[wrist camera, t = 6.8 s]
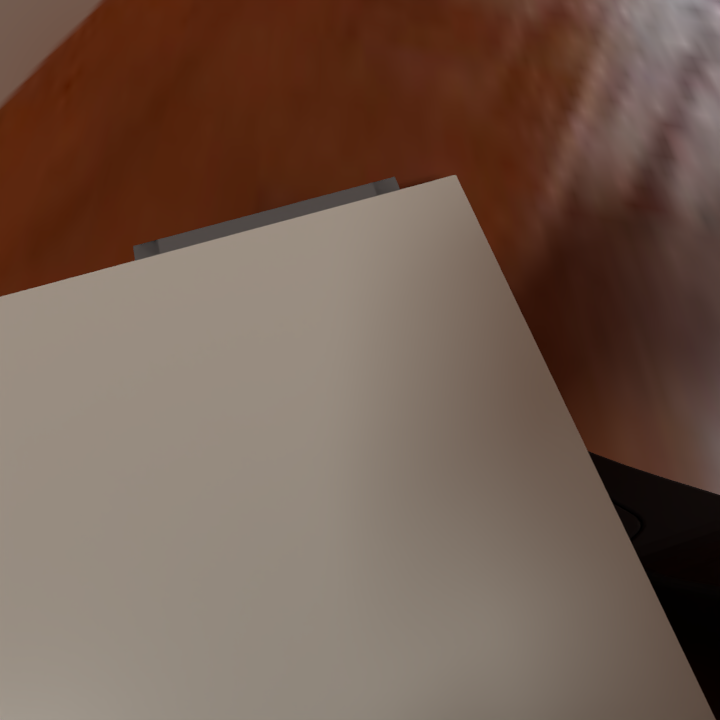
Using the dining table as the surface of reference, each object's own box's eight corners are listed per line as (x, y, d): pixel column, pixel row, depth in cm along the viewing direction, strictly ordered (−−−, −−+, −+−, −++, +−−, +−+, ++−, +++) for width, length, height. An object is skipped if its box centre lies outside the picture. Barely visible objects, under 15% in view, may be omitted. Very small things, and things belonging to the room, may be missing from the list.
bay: (459, 384, 21) (472, 365, 18) (193, 465, 20) (164, 459, 17) (392, 215, 24) (394, 176, 21) (162, 277, 23) (133, 246, 20)
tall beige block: (439, 563, 14) (788, 870, 2) (296, 611, 14) (-166, 1266, 2) (383, 395, 16) (416, 91, 4) (257, 433, 16) (-94, 220, 4)
